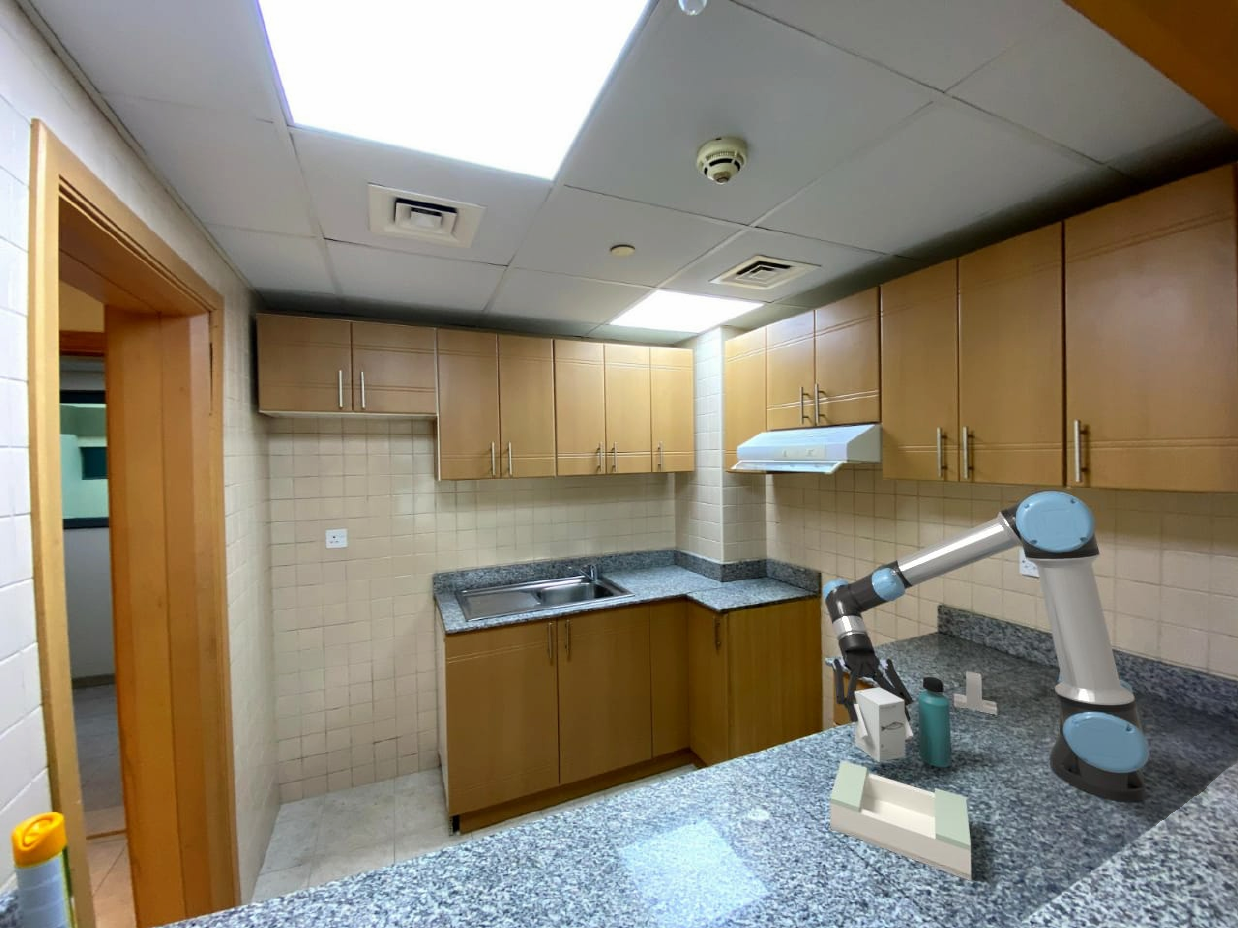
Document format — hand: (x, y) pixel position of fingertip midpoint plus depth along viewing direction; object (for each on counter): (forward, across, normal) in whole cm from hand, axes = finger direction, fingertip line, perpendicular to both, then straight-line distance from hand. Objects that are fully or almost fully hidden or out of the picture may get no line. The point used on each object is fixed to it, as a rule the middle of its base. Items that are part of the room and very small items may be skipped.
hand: (886, 737), depth 106 cm
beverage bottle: (+2, -14, -13) cm, 19 cm away
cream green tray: (+16, +4, +2) cm, 17 cm away
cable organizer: (-17, -42, -33) cm, 56 cm away
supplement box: (+1, 0, -6) cm, 6 cm away
